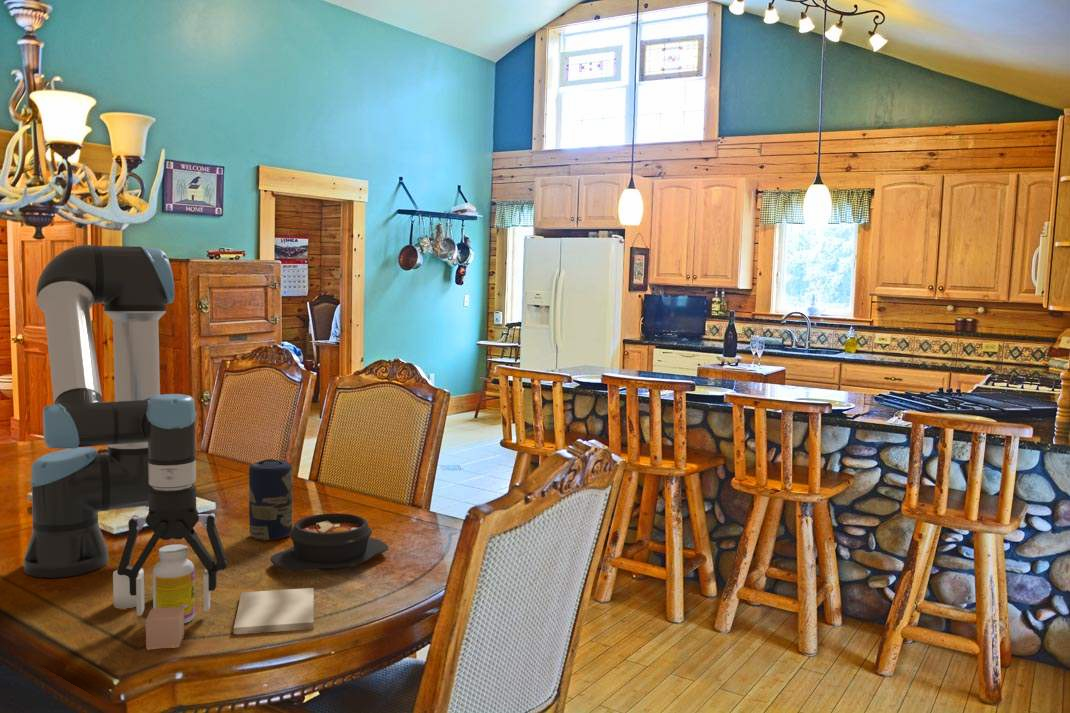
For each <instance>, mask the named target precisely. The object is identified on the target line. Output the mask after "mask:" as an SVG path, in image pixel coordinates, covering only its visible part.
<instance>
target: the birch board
mask: <svg viewBox="0 0 1070 713" xmlns="http://www.w3.org/2000/svg"><path fill="white" fill-rule="evenodd" d="M314 590H315V589H314V587H306V588H291V589H290V588H288V589H278V590H277V589H275V590H260V591H243V592H241V594H240V598H239V602H238V605H237V606H238V607H237V612H236V616H235V620H234V625H233V635H234V634H236V635H246V634H247V635H249V633H250V634H260V632H261V634H262V632H263V633H273V632H288V631H289V632H291V631H301V630H303V631H305V630H314V626H315V625H314V616H315V615H314V614H315V612H314V607H315V606H314V605H315V604H314V603H315V602H314V599H315V598H314V595H315V592H314ZM290 630H291V631H290Z"/></svg>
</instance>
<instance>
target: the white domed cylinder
mask: <svg viewBox="0 0 1070 713" xmlns="http://www.w3.org/2000/svg"><path fill="white" fill-rule="evenodd" d="M117 571H118V569H117V570H114V571H113V572H112V584H113V586H112V589H113V590H112V592H113V608H115V607H116V608H115V609H117V608H123V609H122V610H125V609H124V608H132V607H136V606H137V603H136V595H133V596H131V594H130V581H129V577H128V576H125V575H118V573H117ZM144 572H145V571H144V568H143V567H141V569H140V571H139V573H144ZM144 574H145V573H144ZM136 608H137V607H136ZM132 609H133V608H132Z"/></svg>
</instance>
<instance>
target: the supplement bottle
mask: <svg viewBox="0 0 1070 713" xmlns="http://www.w3.org/2000/svg"><path fill="white" fill-rule="evenodd" d="M188 555H189V547H188V546H187V545H184V544H169V545H164V546H162V547H160V548H158V559H159V562H157V563H155V565H154V566H153V568H152V609H154V608H169V607H184V623H185V624H188V623H189V622H191V621H192V620H193V619H194V618H195V614H196V612H195V611H196V610H195V609H196V608H195V606H196V603H195V599H196V598H195V599H194V567H195V565H194V563H193V562H192V561H191V560H190V559H188V558H187V557H188ZM187 622H188V623H187Z"/></svg>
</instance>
